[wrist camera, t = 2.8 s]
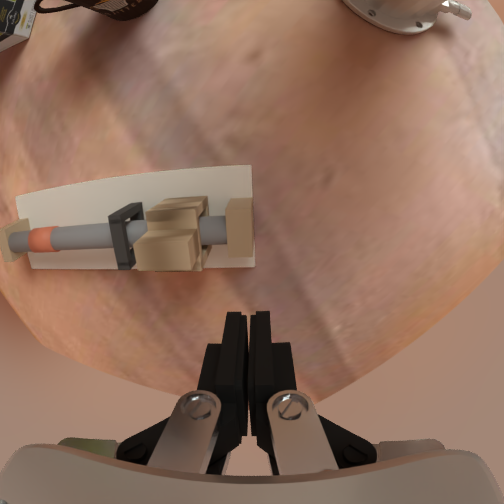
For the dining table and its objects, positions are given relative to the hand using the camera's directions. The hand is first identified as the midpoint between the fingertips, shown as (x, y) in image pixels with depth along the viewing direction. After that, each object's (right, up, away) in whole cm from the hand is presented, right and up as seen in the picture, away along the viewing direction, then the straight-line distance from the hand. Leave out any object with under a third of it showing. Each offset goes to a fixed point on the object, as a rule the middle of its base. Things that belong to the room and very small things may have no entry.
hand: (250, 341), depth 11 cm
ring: (-11, +6, +15) cm, 20 cm away
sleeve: (-6, +6, +15) cm, 17 cm away
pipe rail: (-15, +7, +17) cm, 23 cm away
